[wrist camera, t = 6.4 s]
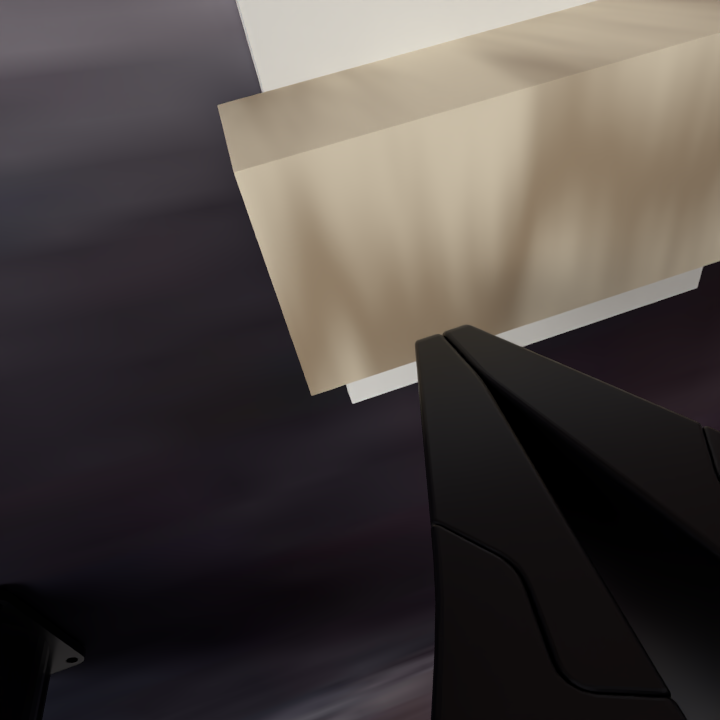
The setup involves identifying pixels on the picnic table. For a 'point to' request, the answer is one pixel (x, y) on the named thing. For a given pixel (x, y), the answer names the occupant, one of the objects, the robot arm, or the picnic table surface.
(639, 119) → the birch block
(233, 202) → the picnic table surface
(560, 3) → the white board
